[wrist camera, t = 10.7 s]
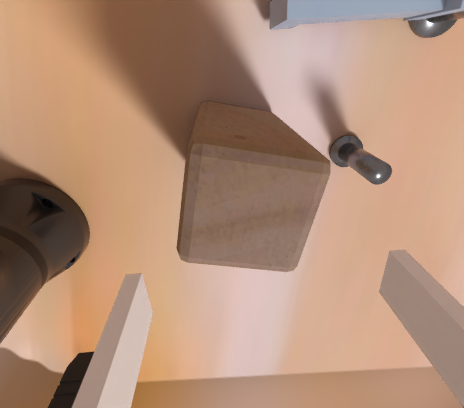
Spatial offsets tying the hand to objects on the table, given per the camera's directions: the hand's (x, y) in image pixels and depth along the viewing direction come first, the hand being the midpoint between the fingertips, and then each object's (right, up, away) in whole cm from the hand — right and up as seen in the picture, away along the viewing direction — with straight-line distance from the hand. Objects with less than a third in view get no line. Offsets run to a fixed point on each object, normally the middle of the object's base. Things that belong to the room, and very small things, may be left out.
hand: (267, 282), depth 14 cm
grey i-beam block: (+11, +26, +16) cm, 32 cm away
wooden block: (-2, +12, +23) cm, 27 cm away
